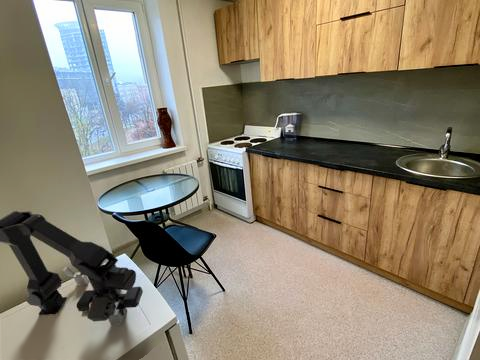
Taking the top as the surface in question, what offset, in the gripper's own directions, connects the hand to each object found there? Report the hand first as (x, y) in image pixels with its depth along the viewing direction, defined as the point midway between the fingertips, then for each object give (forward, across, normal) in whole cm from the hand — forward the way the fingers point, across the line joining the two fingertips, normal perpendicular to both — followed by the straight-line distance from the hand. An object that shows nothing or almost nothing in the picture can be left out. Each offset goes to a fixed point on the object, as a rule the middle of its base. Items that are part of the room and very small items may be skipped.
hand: (118, 314), depth 84 cm
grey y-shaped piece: (+2, -22, +16) cm, 27 cm away
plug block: (+1, 0, 0) cm, 1 cm away
